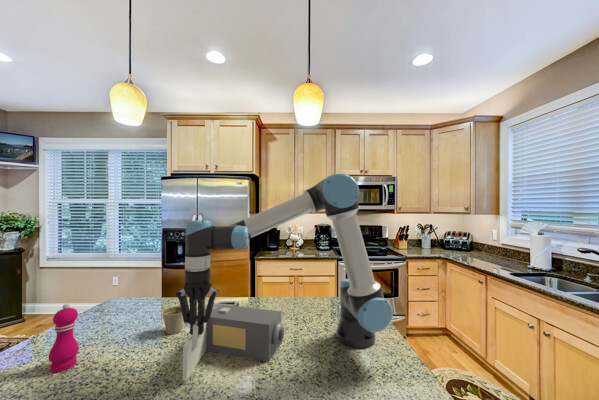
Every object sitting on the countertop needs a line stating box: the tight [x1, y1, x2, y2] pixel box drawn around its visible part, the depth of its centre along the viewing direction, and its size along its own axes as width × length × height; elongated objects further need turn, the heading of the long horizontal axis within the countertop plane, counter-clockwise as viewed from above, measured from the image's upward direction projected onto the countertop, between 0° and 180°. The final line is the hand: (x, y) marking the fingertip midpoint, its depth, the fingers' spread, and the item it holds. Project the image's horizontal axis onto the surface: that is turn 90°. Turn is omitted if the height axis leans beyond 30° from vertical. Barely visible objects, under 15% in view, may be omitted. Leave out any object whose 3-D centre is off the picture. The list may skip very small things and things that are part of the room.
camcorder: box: [197, 300, 240, 320], centre depth 123 cm, size 16×20×5 cm
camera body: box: [205, 305, 285, 362], centre depth 93 cm, size 28×12×13 cm, turn 74°
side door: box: [179, 322, 207, 382], centre depth 82 cm, size 17×2×10 cm, turn 2°
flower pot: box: [161, 305, 184, 335], centre depth 106 cm, size 9×9×9 cm
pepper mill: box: [47, 303, 80, 374], centre depth 82 cm, size 7×7×20 cm
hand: (196, 344), depth 79 cm, fingers closed
